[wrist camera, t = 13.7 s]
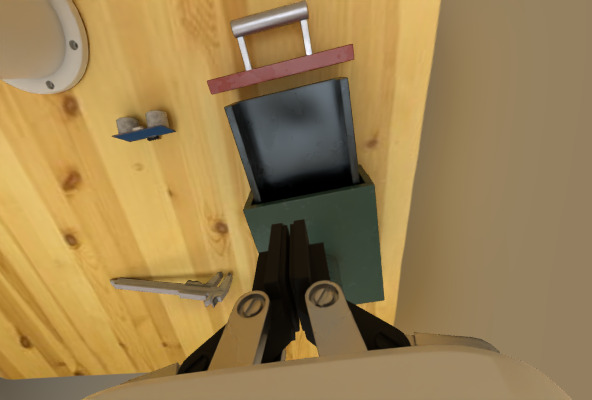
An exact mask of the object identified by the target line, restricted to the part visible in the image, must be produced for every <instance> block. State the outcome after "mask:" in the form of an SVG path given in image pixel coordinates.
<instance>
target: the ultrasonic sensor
mask: <svg viewBox="0 0 592 400" xmlns="http://www.w3.org/2000/svg"><path fill="white" fill-rule="evenodd" d="M145 116H146V121H147V126H148V128H144V127H143V126H140V125H139V121H138V120H137V119H135V118H130V117H123V118H119V119H117V120H116V122H117V128H118V133H119V134H117V135H113V136H112V137H115V138H118V139H122V140H125V141H129V142H132V141H136V140H141V139H145V138H147V140H148V141H151V140H153V141H154V140H156V139H158V140H159V139H161V138H159V135H163V134H168V133H172V132H176V131H175V130H173V129H170V128H169V123H168V117H167V113H165V112H163V111H156V110H155V111H149V112H147V113H146V114H145Z"/></svg>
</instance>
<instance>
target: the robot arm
mask: <svg viewBox="0 0 592 400" xmlns="http://www.w3.org/2000/svg"><path fill="white" fill-rule="evenodd" d="M88 52H89V51H88V41H87V36H86V32H85V28H84V25H83V22H82V20H81V17H80V15H79V13H78V10H77V9H76V7H75V5H74V3H73V2H72V0H0V79H1V80H3V81H4V82H6V83H7V84H9V85H12V86H14V87H16V88H18V89H20V90H24V91H27V92H30V93H37V94H55V93H60V92H64V91H66V90H68V89H70V88H72V87H73V86H75V85H76V84H77V83H78V82H79V81H80V79H81V78H82V76H83V75H84V73H85V69H86V66H87V63H88ZM299 318H300V322H301V326H302V329H303V331H305V334H306V338H307V340H309V341H310V342H311V343H312V344H314V345H315V346H316V347H317V350H318V354H319V357H313V358H304V359H296V360H288V361H285V359H286V346H287V345H288V344H289V343H290V342H291V341H293V340H295V332H298V331H299V330H300V327H299ZM82 400H572V399H571V398H570V397H569V396H568V395H567V394H566V393H565V392H564V391H563V390H562V389H561V388H560V387H558V386H557V385H556V384H555V383H554V382H553V381H552V380H551V379H549V378H548V377H547V376H546V375H544V374H543V373H541V372H540V371H538V370H537V369H535V368H534V367H532V366H530V365H529V364H527V363H524V362H522V361H520V360H517V359H515V358H512V357H510V356H507V355H504V354H501V353H500V352H499V351H498V350H497V349H496V348H495V347H494V346H492V345H491V344H489V343H488V342H486V341H484V340H482V339H477V338H473V337H463V336H450V335H440V334H428V333H417V332H414V335H405V334H404V333H402V332H401V331H400V330H398V329H397V328H395V327H393V326H392V325H390V324H388V323H386V322H385V321H383V320H381V319H379V318H378V317H376V316H374V315H372V314H370V313H369V312H367V311H365V310H363V309H362V308H360V307H358V306H356V305H355V304H353V303H351V302H349V301H347V300H346V299H345V297H344V294H343V292H342V290H341V288H340V287H339V286H338V285H337V284H336V283H334V282H331V281H330V275H329V270H328V264H327V259H326V253H325V248H324V242H321V243H315V244H310V243H309V238H308V233H307V228H306V224H305V219H302V220H296V221H294V224H290V234H289V230H288V226H287V225H283V223H278V224H272V226H271V233H270V240H269V247H268V251H265V252H260V253H259V256H258V261H257V267H256V272H255V278H254V283H253V288H252V291H251V292H248V293H246V294H244V295H243V296H241V297H240V298H239V299H238V300H237V302H236V303H235V305H234V307H233V310H232V312H231V315H230V317H229V319H228V322H227V324H226V325H225V326H223V327H222V328H221V329H220V330H219V331H218V332H216V333H215V334H214V335H213V336H212V337H211V338H209V339H208V340H207V341H206V342H205V343H204V344H203V345H201V346H200V347H199V348H198V349H197V350H196V351H194V352H193V353H192V354H191V355H190V356H189V357H188V358H187V359H186V360H185V361H184V362H183V364H181V365H179V364H178V363H175V364H172V365H170V366H167V367H164V368H161V369H158V370H156V371H153V372H150V373H147V374H145V375H142V376H139V377H137V378H134V379H131V380H128V381H127V382H124V383H122V384H121V385H118V386H115V387H112V388H108V389H105V390H103V391H100V392H97V393H95V394H93V395H90V396H88V397H86V398H84V399H82Z"/></svg>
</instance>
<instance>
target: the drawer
mask: <svg viewBox="0 0 592 400" xmlns="http://www.w3.org/2000/svg"><path fill="white" fill-rule="evenodd" d="M307 19H309V15H308V8H307V2H306V0H304V1H300V2H296V3H293V4H289V5H285V6H282V7H278V8H275V9H271V10H267V11H264V12H260V13H257V14H253V15H249V16H246V17H242V18H238V19H235V20H231V21H230V24H231V29H232V32H233V35H234V37H235V38H237V40H238V43H239V47H240V51H241V54H242V58H243V61H244V65H245V69H246V71H243V72H239V73H235V74H232V75H228V76H224V77H220V78H216V79H212V80H208V81H207V83H208V86H209V89H210V92H211V94H216V93H220V92H225V91H229V90H233V89H237V88H241V87H245V86H249V85H253V84H257V83H261V82H265V81H269V80H273V79H277V78H281V77H286V76H290V75H294V74H298V73H302V72H306V71H310V70H314V69H318V68H322V67H326V66H330V65H334V64H338V63H342V62H346V61H350V60H354V51H353V44H350V45H346V46H342V47H338V48H334V49H330V50H326V51H322V52H318V53H314V54H312V48H311V42H310V36H309V30H308V24H307ZM296 22H300V24H301V29H302V35H303V41H304V46H305V52H306V56H303V57H299V58H295V59H291V60H287V61H283V62H279V63H275V64H271V65H267V66H263V67H259V68H255V69H253V68H252V65H251V61H250V57H249V53H248V50H247V46H246V42H245V38H244V36H247V35H251V34H255V33H259V32H262V31H266V30H270V29H274V28H277V27H281V26H285V25H288V24H292V23H296ZM224 109H225V112H226V115H227V118H228V121H229V124H230V127H231V130H232V133H233V136H234V139H235V142H236V145H237V148H238V151H239V154H240V157H241V160H242V163H243V166H244V169H245V172H246V175H247V178H248V181H249V184H250V187H251V191H252V194H253V197H254V200H255V203H256V205H257V204H262V203H267V202H272V201H278V200H283V199H288V198H293V197H298V196H303V195H308V194H313V193H319V192H324V191H329V190H334V189H339V188H344V187H349V186H354V185H359V184H360V180H359V171H358V162H357V153H356V145H355V136H354V127H353V118H352V110H351V101H350V92H349V83H348V78H347V77H338V78H334V79H330V80H326V81H322V82H317V83H313V84H309V85H305V86H301V87H297V88H292V89H288V90H284V91H280V92H276V93H272V94H268V95H263V96H259V97H255V98H251V99H247V100H243V101H239V102H234V103H232V104H230V105H228V106H225V107H224Z"/></svg>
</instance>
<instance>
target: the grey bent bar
mask: <svg viewBox="0 0 592 400" xmlns="http://www.w3.org/2000/svg"><path fill="white" fill-rule="evenodd" d="M222 277H223V275H222V272H219V273H218V274H216V275H215V276H214V277H213V278H212V279H211V280H210V281H208V282H207V283H206V284H202V283H201V282H198V281H191V280H188V281H187V282H186V284H181V283H170V282H159V281H148V280H138V279H128V278H119V279H118V280H113V279H111V280H110V282H111V284H112V286H114V287H115V289H124V290H133V291H142V292H152V293H162V294H172V295H179V296H180V298H187V299H195V300H203V301H204V303H205V306H206V307H207V306H208V305H210V304H211V303H212V306H213V308H214V307H215V305H216V304H217V302H222V300H223V299H224V297H225V296H226V294H227V293H228V291H229V288H230V285H231V282H232V279H233V278H232V274H231V273H228V275H227V276H226V278H225V279H224V281H223V282H222V283H221V285H220V286H219V287H217V285H218V284H219V282H220V281H221V279H222Z"/></svg>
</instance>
